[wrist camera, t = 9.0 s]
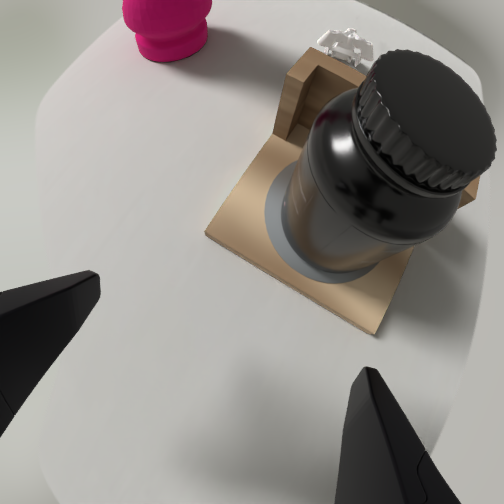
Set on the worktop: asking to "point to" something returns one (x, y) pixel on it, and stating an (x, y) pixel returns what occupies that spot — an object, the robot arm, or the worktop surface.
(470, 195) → the holder
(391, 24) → the worktop surface
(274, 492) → the worktop surface
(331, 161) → the supplement bottle
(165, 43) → the pepper mill
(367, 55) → the clip
